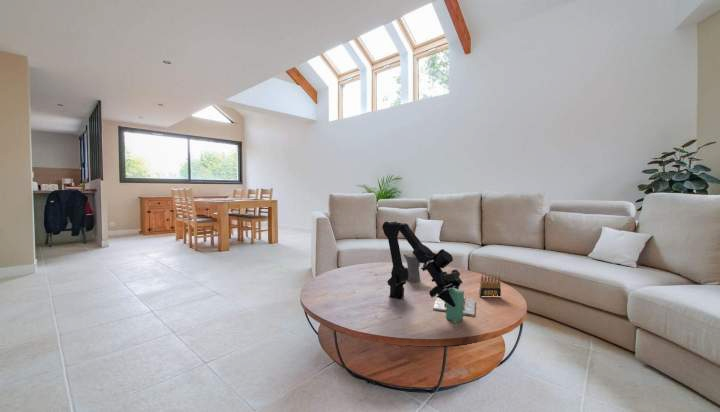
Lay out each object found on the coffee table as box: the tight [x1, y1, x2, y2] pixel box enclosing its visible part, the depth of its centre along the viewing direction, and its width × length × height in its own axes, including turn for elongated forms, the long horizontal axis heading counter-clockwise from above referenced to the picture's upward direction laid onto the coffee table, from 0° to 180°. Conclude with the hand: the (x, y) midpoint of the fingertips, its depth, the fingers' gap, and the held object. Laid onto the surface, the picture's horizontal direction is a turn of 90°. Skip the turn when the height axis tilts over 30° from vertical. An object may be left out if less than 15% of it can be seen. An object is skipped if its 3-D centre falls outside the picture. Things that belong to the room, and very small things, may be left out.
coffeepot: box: [402, 250, 428, 283], centre depth 183 cm, size 15×9×18 cm, turn 62°
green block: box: [445, 288, 465, 323], centre depth 130 cm, size 5×5×12 cm
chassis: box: [432, 296, 476, 317], centre depth 145 cm, size 18×18×4 cm
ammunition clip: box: [478, 274, 502, 297], centre depth 157 cm, size 11×2×12 cm, turn 90°
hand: (457, 305), depth 129 cm, fingers closed on green block, 5 cm apart
